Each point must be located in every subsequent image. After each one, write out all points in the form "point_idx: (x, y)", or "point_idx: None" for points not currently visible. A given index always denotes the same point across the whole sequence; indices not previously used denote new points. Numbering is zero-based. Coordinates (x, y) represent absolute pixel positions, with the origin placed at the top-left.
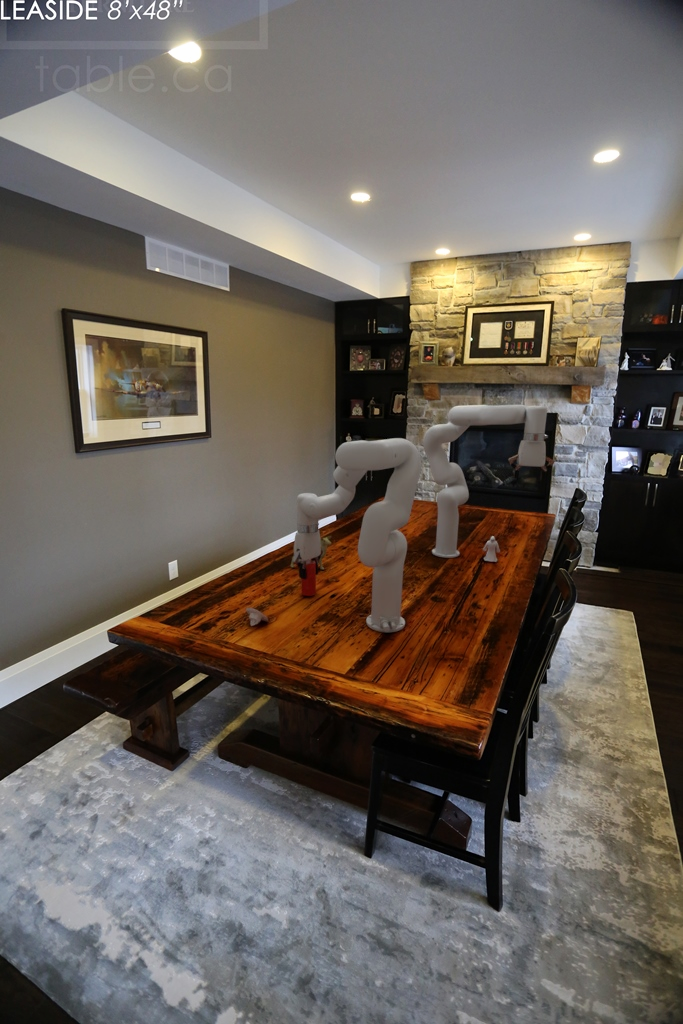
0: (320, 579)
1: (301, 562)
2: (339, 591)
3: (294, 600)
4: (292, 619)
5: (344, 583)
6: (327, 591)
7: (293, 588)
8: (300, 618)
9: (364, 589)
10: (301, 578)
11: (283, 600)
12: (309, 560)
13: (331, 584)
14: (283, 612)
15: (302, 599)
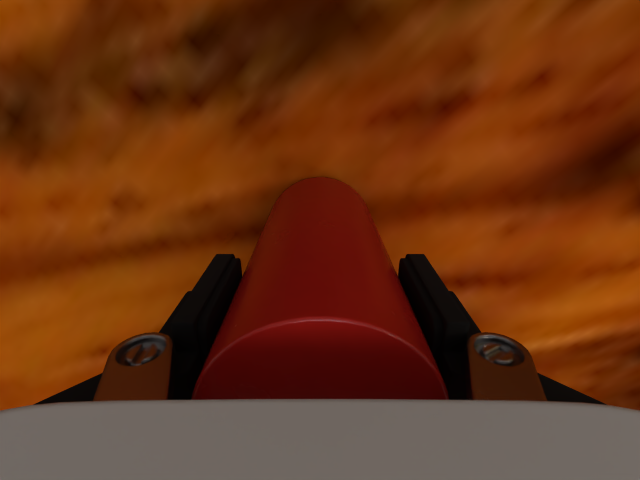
0: (631, 74)
1: (218, 362)
2: (488, 317)
3: (190, 213)
4: (41, 363)
5: (629, 264)
6: (445, 268)
7: (333, 39)
8: (83, 380)
9: (589, 389)
10: (259, 241)
11: (129, 157)
12: (405, 390)
13: (570, 212)
14: (38, 282)
15: (240, 239)
